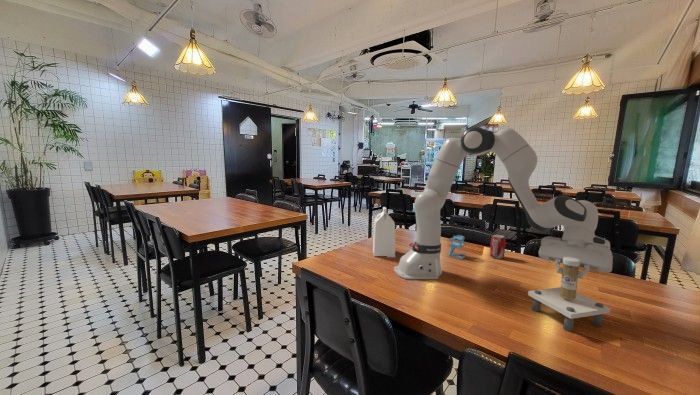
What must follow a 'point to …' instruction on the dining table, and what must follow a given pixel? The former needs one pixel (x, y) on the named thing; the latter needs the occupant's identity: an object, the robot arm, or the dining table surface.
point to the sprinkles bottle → (569, 277)
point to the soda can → (497, 246)
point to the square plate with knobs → (569, 306)
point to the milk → (384, 235)
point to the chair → (456, 244)
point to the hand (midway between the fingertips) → (569, 275)
